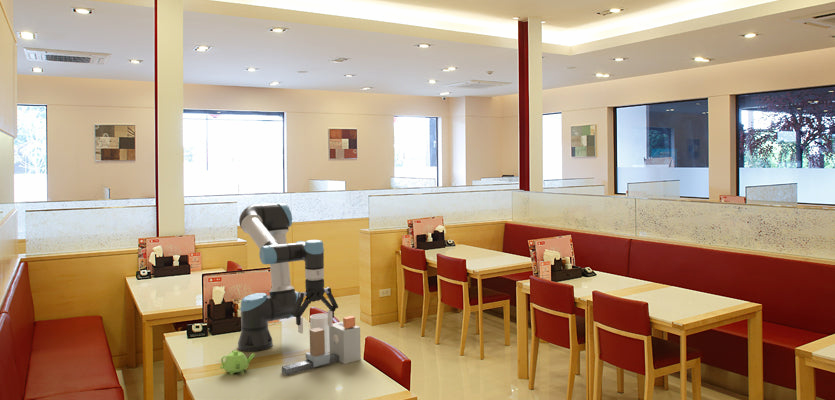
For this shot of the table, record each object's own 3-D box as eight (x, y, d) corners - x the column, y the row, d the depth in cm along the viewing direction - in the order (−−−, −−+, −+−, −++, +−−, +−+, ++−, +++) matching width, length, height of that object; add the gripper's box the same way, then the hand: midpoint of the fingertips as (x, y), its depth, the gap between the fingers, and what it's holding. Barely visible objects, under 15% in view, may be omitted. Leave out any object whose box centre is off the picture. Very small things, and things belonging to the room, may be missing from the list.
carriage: (305, 361, 239) (304, 329, 238) (320, 358, 243) (319, 325, 242) (314, 367, 232) (313, 333, 231) (330, 363, 237) (329, 330, 236)
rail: (282, 372, 230) (281, 366, 230) (334, 358, 245) (334, 353, 245) (286, 375, 227) (286, 369, 227) (339, 361, 242) (339, 355, 242)
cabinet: (328, 356, 248) (328, 324, 247) (345, 352, 253) (345, 320, 252) (343, 364, 238) (342, 330, 237) (360, 359, 244) (360, 326, 243)
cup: (326, 355, 250) (325, 319, 248) (308, 354, 251) (307, 318, 250) (332, 349, 258) (331, 313, 256) (315, 348, 259) (314, 313, 258)
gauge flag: (343, 327, 241) (343, 317, 241) (352, 325, 244) (352, 315, 244) (346, 328, 239) (346, 319, 239) (355, 326, 242) (355, 317, 242)
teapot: (215, 374, 229) (214, 353, 228) (234, 364, 240) (234, 345, 239) (238, 378, 225) (237, 357, 224) (257, 368, 235) (256, 348, 235)
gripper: (290, 284, 224) (291, 337, 226) (345, 275, 240) (346, 325, 242) (282, 281, 230) (283, 333, 232) (336, 272, 245) (337, 321, 247)
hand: (315, 329), depth 237 cm, fingers open, 13 cm apart
